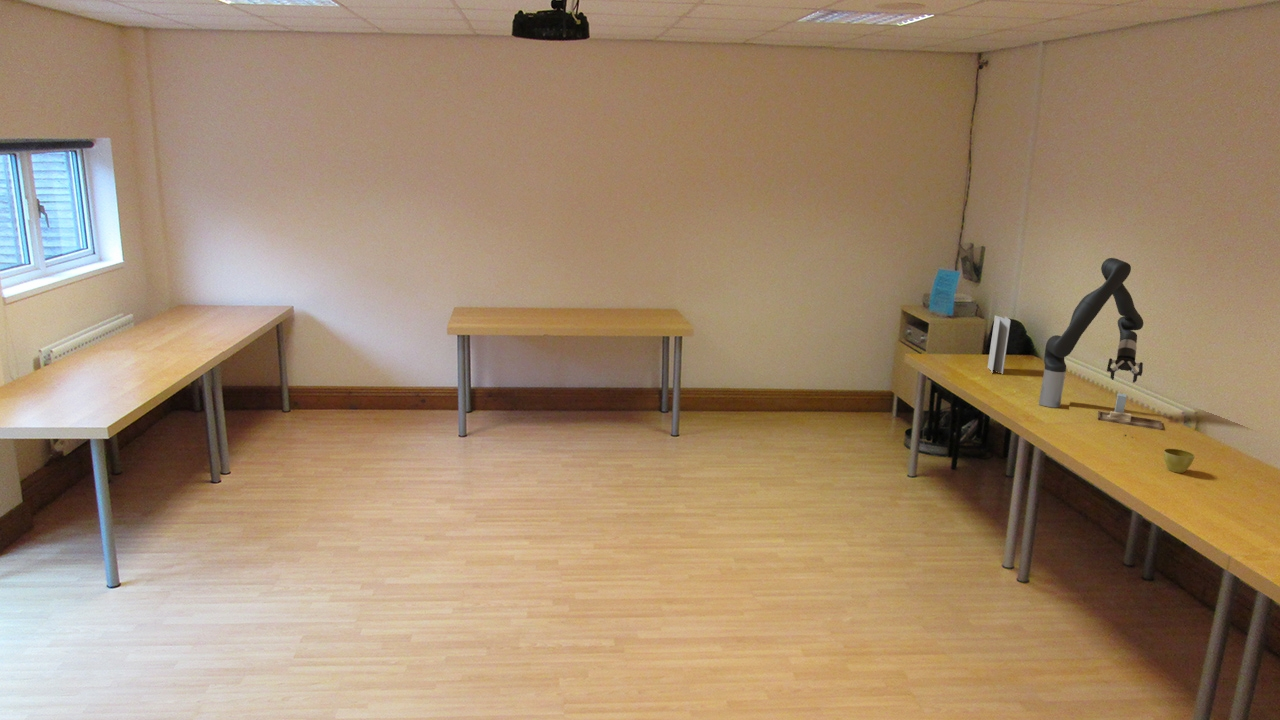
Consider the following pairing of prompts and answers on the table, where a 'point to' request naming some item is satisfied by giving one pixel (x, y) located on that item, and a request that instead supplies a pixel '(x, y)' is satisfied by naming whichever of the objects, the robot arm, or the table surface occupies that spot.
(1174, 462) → the green bowl
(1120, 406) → the blue-grey rectangular block
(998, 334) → the brochure
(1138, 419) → the brown serving tray
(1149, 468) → the table surface
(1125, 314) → the robot arm
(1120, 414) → the offcut stack
